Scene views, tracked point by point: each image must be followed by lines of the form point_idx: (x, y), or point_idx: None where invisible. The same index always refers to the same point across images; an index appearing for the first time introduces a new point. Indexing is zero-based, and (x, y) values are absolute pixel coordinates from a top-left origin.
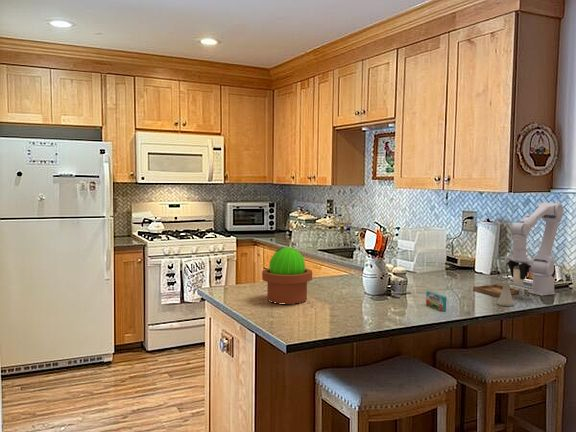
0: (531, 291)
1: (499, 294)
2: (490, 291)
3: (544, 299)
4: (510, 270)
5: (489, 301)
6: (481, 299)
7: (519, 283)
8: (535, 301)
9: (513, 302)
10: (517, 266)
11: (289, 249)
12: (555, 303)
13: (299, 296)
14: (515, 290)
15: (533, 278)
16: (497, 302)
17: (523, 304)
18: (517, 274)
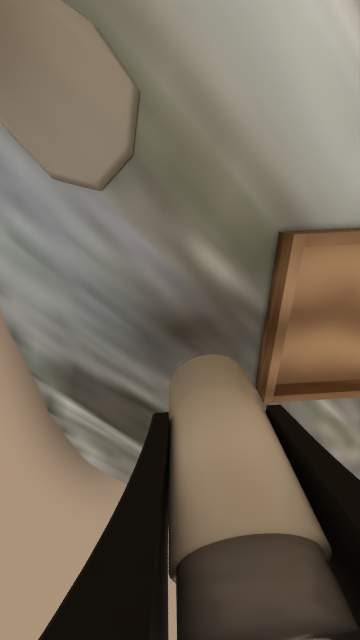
0: None
1: (280, 267)
2: (344, 231)
3: (139, 413)
4: (349, 474)
5: (202, 52)
6: (286, 32)
7: (175, 377)
8: (116, 360)
9: (35, 159)
10: (252, 634)
11: None
12: (64, 405)
13: None
14: (268, 384)
15: None
16: (90, 23)
17: (64, 255)
18: (195, 443)
